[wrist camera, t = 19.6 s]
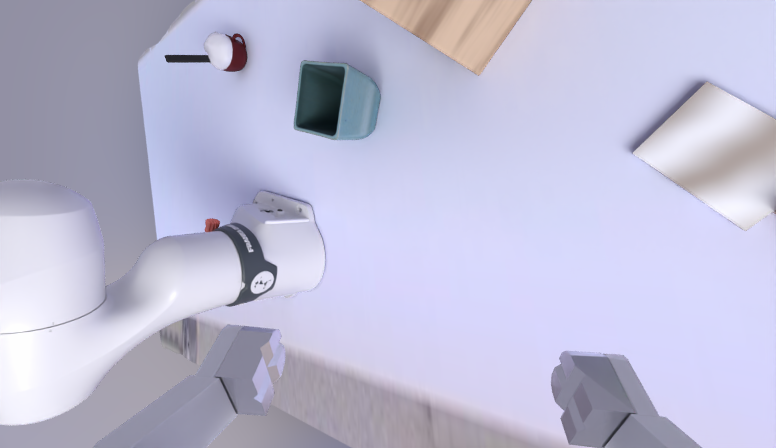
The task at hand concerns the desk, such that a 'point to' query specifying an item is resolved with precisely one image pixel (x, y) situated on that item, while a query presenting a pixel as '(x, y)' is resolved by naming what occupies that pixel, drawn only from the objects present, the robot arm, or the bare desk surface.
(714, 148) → the turner
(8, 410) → the robot arm
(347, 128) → the flower pot
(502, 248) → the desk surface
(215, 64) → the cocoa
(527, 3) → the oak stand
